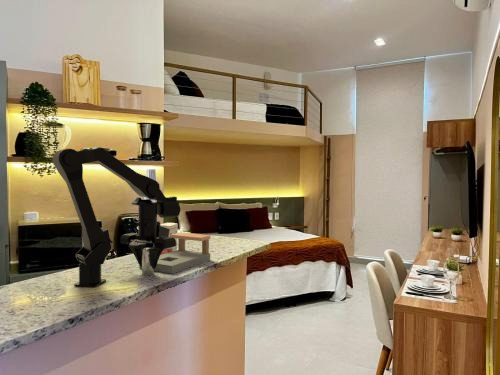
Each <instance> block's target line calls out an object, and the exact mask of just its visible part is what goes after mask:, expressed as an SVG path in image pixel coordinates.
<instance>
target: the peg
mask: <svg viewBox="0 0 500 375" xmlns="http://www.w3.org/2000/svg"><path fill="white" fill-rule="evenodd" d="M149 248H150V247H145V248H143V249H142V269H141V275H143V276H152V275H154V272H155V271H154V269H152V265H151V260H150V254H149Z"/></svg>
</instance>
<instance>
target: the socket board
mask: <svg viewBox="0 0 500 375" xmlns="http://www.w3.org/2000/svg"><path fill="white" fill-rule="evenodd" d="M170 237H174V238H177V251H173V252H170V253H166V254H162V255H160V257H159V260H158V263H157V265H156V268H154V272H160V273H166V274H175V273H177V272H180V271H184V270H186V269H188V268H192V267H195V266H197V265H200V264H203V263H206V262H208V260H209V261H211V253H210V239H211V235H209V234H200V233H198V234H197V233H191V232H190V233H189V232H177V233H175V234H171V235H170ZM188 240H189V241H195V242H197V241H198V242H201V251H195V250H187V249H186V241H188ZM205 261H206V262H205ZM138 265H139V264H138ZM138 267H139V269H141V270H142V267H140V265H139V266H138Z"/></svg>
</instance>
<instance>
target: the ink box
mask: <svg viewBox="0 0 500 375" xmlns="http://www.w3.org/2000/svg"><path fill="white" fill-rule="evenodd" d="M160 226H161V227H165V228H167V229H170V232H169V236H168V237H170V235H171V234H175V233H178V228H179V227H178V226H179V224H178V223H177V222H176V223H175V222H165V223H160ZM175 240H176V246H175V247H171V248H167V249H164V250H163V251H162V253H161V255H162V254H166V253H170V252H173V251H177V250H178V239H177V238H175Z"/></svg>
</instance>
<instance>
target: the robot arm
mask: <svg viewBox="0 0 500 375" xmlns="http://www.w3.org/2000/svg"><path fill="white" fill-rule="evenodd" d="M93 162H94V163H95V162H96V163H97V164H99V165H100V166H101V167H103V168H105V169H106V170H107V171H109V172H110V173H112V174H113V175H115V176H116V177H118V178H120V179H121V180H122V181H124V182H125V183H127V185H128V186H129V187H130V188H131V190H132V191H134V192H135V193H136V194H137V195H138V196H139V197H138V196H137V197H136V198H135V199H134V200H133V201H132V202H131V205H132V206H133V205H134V206H138V210H137V212H138V214H137V215H138V221H136V222H135V226H137V227H138V233H135V232H131V233H130V232H129V233H125V234H122V235H121V236H120V240H119V242H120V244H122V245H127V248H129V249H130V250H131V252H132V254H133V256H134V257H135V259H136V261H137V263H138V265H140V267H142V249H143V248H147V245H149V244H150V245H152V247H148V248H149V254H150V260H151V265H152V269H154V268H156V265H157V263H158V260H159V257H160V255H161V253H162V251H163V250H164V249H167V248H171V247H175V246H176V240H175V238H174V237H168V236H169V232H170V229H167V228H165V227H161V226H160V224H161V222H160V220H158V216H159V218H175V217H179V216H180V214H181V206H180V203H179V202H180V201H178V197H177V196H174V195H173V196H168V197H166V196H165V194H164V193H163V191H162V190H161V187H160V183H159V182H158V181H157V180H155V179H154V178H151V177H149V176H147V175H143V174H140V173H138V172H137V171H135V169H132V168H131V167H129V166H128V165H127V164H125V163H124V162H123V161H121V160H119V159H118V158H117V157H115V156H114V155H112V154H111V153H109V152H108V151H107V150H106V149H105V148H104V147H101V146H99V147H97V146H96V147H92V148H91V149H89V148H88V149H84V150H83V149H82V150H75V149H74V148H65V149H59V150H57V151H56V152H55V153H54V154H53V156H52V163H53V165H54V167H55V169H56V170H57V172H58V174H59V175H60V176H61V178H62V179H63V181H64V182H65V183H66V186H67V188H68V192H69V195H70V197H71V198H70V199H71V200H72V204H73V206H74V209H75V211H76V214H77V217H78V220H79V222H80V225H81V228H82V237H81V238H82V245H83V246H82V247H81V248H80V249H79V250H78V251H77V252H76V253H75V258H76V260H77V262H79V264H78V281H77V282H75V283H74V284H73V285H74V287H88V288H89V287H90V288H95V287H98V286H99V285H101V284H103V283H105V282H106V281H107V279H106V278H102V265H104V264H105V261H106V257H107V256H108V255H109V254H110V252H111V251H112V243H113V241H112V240H111V237H110V233H109V230H108V229H106V228H103V227H101V226H100V225H99V223H98V220H97V218H96V217H97V216H96V213H95V211H94V209H93V206H92V203H91V200H90V196H89V193H88V191H87V187H86V186H85V182H84V179H83V177H84V176H83V174H84V173H83V172H84V167H83V164H90V163H93ZM142 198H147V199H142ZM154 201H155V202H154Z"/></svg>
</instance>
